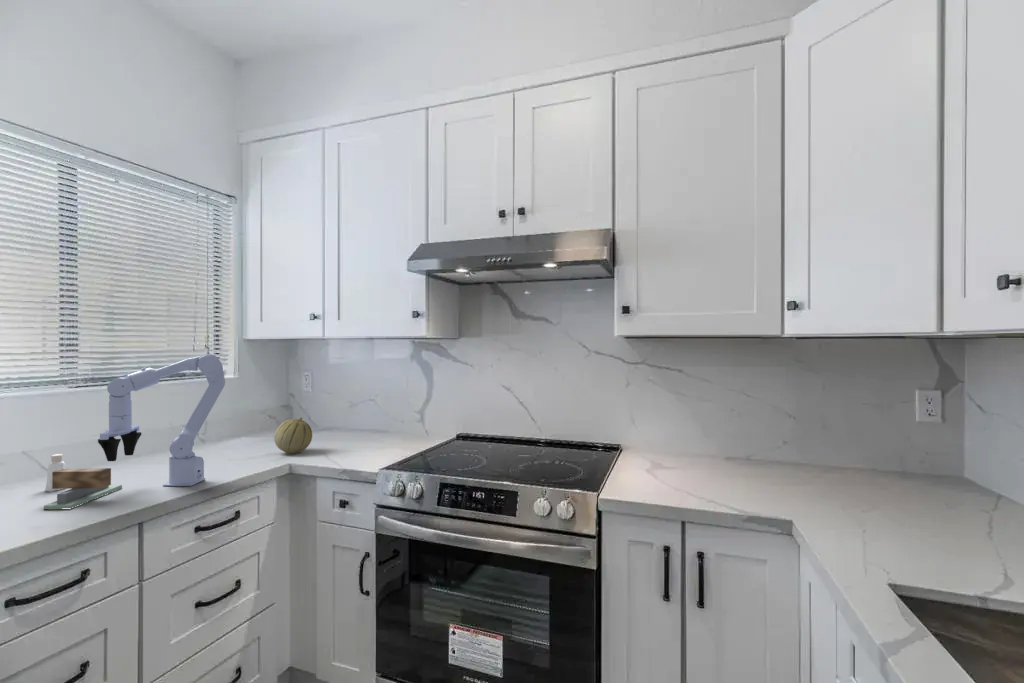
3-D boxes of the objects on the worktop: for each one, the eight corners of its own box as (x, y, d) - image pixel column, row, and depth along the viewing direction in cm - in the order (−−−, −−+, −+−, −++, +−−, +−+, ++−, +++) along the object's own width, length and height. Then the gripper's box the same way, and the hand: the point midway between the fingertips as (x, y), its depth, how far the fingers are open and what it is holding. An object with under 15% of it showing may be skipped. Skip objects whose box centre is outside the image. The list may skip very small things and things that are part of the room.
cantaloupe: (270, 452, 211) (270, 417, 211) (305, 447, 221) (305, 414, 221) (281, 458, 200) (281, 421, 200) (317, 453, 210) (317, 418, 210)
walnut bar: (110, 484, 150) (110, 468, 150) (101, 488, 146) (102, 471, 146) (62, 485, 149) (62, 468, 149) (52, 488, 145) (52, 471, 145)
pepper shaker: (46, 492, 155) (46, 457, 155) (44, 489, 158) (44, 454, 158) (69, 488, 159) (69, 454, 159) (66, 485, 162) (67, 452, 162)
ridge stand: (121, 488, 159) (122, 476, 159) (69, 509, 139) (69, 495, 139) (99, 488, 159) (99, 476, 159) (43, 509, 139) (43, 495, 139)
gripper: (123, 412, 164) (123, 453, 164) (89, 419, 150) (89, 463, 150) (145, 412, 165) (145, 452, 165) (113, 418, 150) (113, 463, 150)
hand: (120, 458), depth 157 cm, fingers open, 7 cm apart
